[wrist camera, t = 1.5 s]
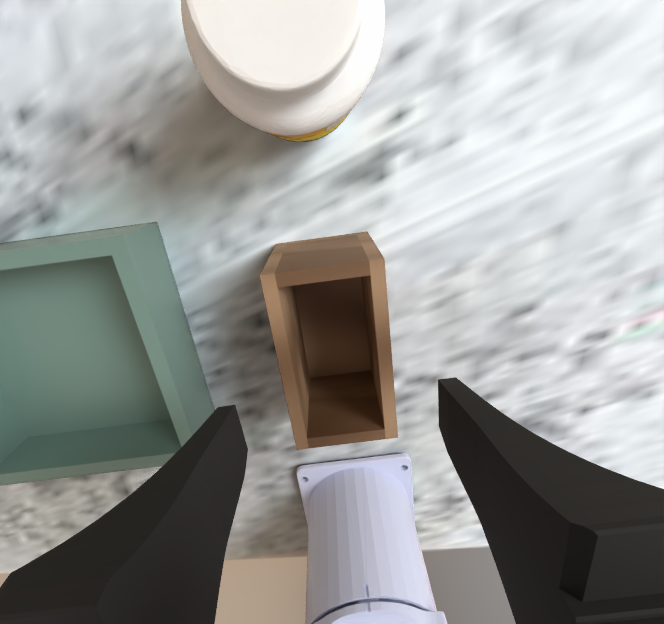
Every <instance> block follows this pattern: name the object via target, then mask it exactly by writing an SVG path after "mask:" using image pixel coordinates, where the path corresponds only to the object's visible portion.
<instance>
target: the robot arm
mask: <svg viewBox="0 0 664 624" xmlns="http://www.w3.org/2000/svg"><path fill="white" fill-rule="evenodd" d="M438 398H439V428H440V431H441V434H442V437H443V440H444V443H445V446H446V449H447V452H448V454H449V456H450V458H451V461H452V463H453V465H454V467H455V469H456V471H457V473H458V475H459V477H460V479H461V482H462V484H463V486H464V488H465V490H466V492H467V494H468V496H469V498H470V500H471V502H472V505H473V507H474V509H475V511H476V513H477V515H478V518H479V520H480V522H481V525H482V527H483V530H484V533H485V536H486V538H487V541H488V544H489V546H490V549H491V552H492V555H493V557H494V560H495V563H496V566H497V569H498V571H499V575H500V577H501V580H502V583H503V586H504V589H505V592H506V595H507V598H508V601H509V604H510V607H511V610H512V613H513V616H514V619H515V622H516V624H664V489H661V488H658V487H655V486H652V485H649V484H646V483H643V482H640V481H637V480H634V479H631V478H629V477H626V476H624V475H621V474H618V473H616V472H613V471H611V470H608V469H606V468H603V467H601V466H598V465H596V464H594V463H591V462H589V461H587V460H585V459H583V458H580V457H578V456H576V455H574V454H572V453H570V452H568V451H566V450H564V449H562V448H560V447H558V446H556V445H554V444H552V443H550V442H548V441H547V440H545V439H543V438H541V437H539V436H538V435H536V434H534V433H532V432H531V431H529V430H527V429H526V428H524V427H523V426H521V425H519V424H518V423H516V422H515V421H513V420H512V419H510V418H509V417H507V416H506V415H504V414H503V413H501V412H500V411H499V410H497V409H496V408H494V407H493V406H492V405H490V404H489V403H488V402H486V401H485V400H484V399H482V398H481V397H480V396H479V395H477V394H476V393H475V392H473V391H472V390H471V389H470V388H468V387H467V386H466V385H465V384H463V383H462V382H461V381H460V380H458V379H457V378H448V379H440V380H438ZM247 452H248V448H247V445H246V441H245V438H244V434H243V431H242V427H241V424H240V420H239V417H238V413H237V410H236V406H235V405H231V406H223V407H218V408H217V409H216V410H215V411H214V412H213V413H212V414H211V415H210V416H209V418H208V419H207V420H206V421H205V422H204V423H203V424H202V425H201V427H200V428H199V429H198V430H197V431H196V432H195V433H194V434H193V435H192V436H191V438H190V439H189V440H188V441H187V442H186V443H185V444H184V445H183V446H182V447H181V448H180V449H179V450H178V451H177V452H176V453H175V454H174V455H173V456H172V457H171V458H170V459H169V460H168V461H167V462H166V463H165V464H164V465H163V466H162V467H161V468H160V469H159V470H158V471H157V472H156V473H155V474H154V475H153V476H152V477H151V478H150V479H148V480H147V481H146V482H145V483H144V484H143V485H141V486H140V487H139V488H138V489H137V490H136V491H134V492H133V493H132V494H131V495H130V496H128V497H127V498H126V499H124V500H123V501H122V502H120V503H119V504H118V505H117V506H115V507H114V508H113V509H111V510H110V511H109V512H107V513H106V514H105V515H103V516H102V517H101V518H99V519H98V520H96V521H95V522H94V523H92V524H91V525H89V526H88V527H86V528H85V529H83V530H82V531H80V532H79V533H77V534H76V535H74V536H73V537H71V538H70V539H68V540H66V541H65V542H63V543H62V544H60V545H58V546H57V547H55V548H54V549H52V550H50V551H48V552H47V553H45V554H43V555H42V556H40V557H38V558H36V559H35V560H33V561H31V562H30V563H28V564H26V565H24V566H23V567H21V568H19V569H17V570H16V571H14V572H12V573H11V574H10V575H9V576H8V578H7V579H6V580H5V582H4V583H3V584H2V586H1V587H0V624H214V622H215V615H216V608H217V600H218V594H219V587H220V581H221V575H222V568H223V562H224V556H225V551H226V547H227V542H228V538H229V534H230V530H231V527H232V523H233V519H234V515H235V511H236V507H237V504H238V500H239V496H240V492H241V488H242V484H243V480H244V475H245V468H246V460H247ZM403 465H406V466H404V467H402V466H403ZM303 477H307V478H303ZM297 479H298V484H299V488H300V493H301V497H302V502H303V506H304V511H305V515H306V520H307V524H308V559H307V590H306V621H305V624H447V621H446V618H445V614H444V612H442V611H438V612H437V610H436V606H435V602H434V598H433V594H432V590H431V586H430V583H429V579H428V575H427V571H426V567H425V563H424V559H423V555H422V551H421V547H420V543H419V539H418V535H417V532H416V528H415V518H414V501H413V485H412V469H411V459H410V456H409V455H408V454H406V453H401V454H393V455H385V456H376V457H368V458H360V459H351V460H343V461H335V462H326V463H318V464H310V465H302V466H300V467H298V468H297Z"/></svg>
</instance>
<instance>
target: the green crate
mask: <svg viewBox="0 0 664 624" xmlns="http://www.w3.org/2000/svg"><path fill="white" fill-rule="evenodd" d="M214 411H215V410H214V406H213V403H212V400H211V397H210V393H209V390H208V387H207V384H206V380H205V377H204V374H203V370H202V367H201V364H200V361H199V357H198V354H197V351H196V348H195V344H194V341H193V338H192V334H191V331H190V328H189V325H188V321H187V318H186V315H185V312H184V308H183V305H182V302H181V298H180V295H179V292H178V289H177V285H176V282H175V279H174V276H173V272H172V269H171V266H170V262H169V259H168V256H167V253H166V249H165V246H164V243H163V240H162V236H161V233H160V230H159V226H158V223H157V222H152V223H145V224H137V225H130V226H123V227H115V228H108V229H101V230H94V231H86V232H79V233H72V234H64V235H57V236H50V237H42V238H35V239H28V240H20V241H13V242H6V243H0V485H8V484H17V483H25V482H33V481H41V480H50V479H58V478H66V477H74V476H83V475H91V474H99V473H107V472H116V471H124V470H132V469H140V468H149V467H157V466H163V465H164V464H165V463H166V462H167V461H168V460H169V459H170V458H171V457H172V456H173V455H174V454H175V453H176V452H177V451H178V450H179V449H180V448H181V447H182V446H183V445H184V444H185V443H186V442H187V441H188V440H189V439H190V438H191V436H192V435H193V434H194V433H195V432H196V431H197V430H198V429H199V428H200V427H201V425H202V424H203V423H204V422H205V421H206V420H207V419H208V418H209V416H210V415H211V414H212V413H213V412H214Z"/></svg>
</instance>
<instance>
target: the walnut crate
mask: <svg viewBox="0 0 664 624" xmlns="http://www.w3.org/2000/svg"><path fill="white" fill-rule="evenodd" d="M260 279H261V284H262V289H263V293H264V298H265V303H266V307H267V312H268V317H269V322H270V326H271V331H272V336H273V340H274V345H275V350H276V354H277V359H278V364H279V369H280V373H281V378H282V383H283V387H284V392H285V397H286V401H287V406H288V411H289V416H290V420H291V425H292V430H293V434H294V439H295V444H296V449H297V450H298V449H307V448H315V447H323V446H331V445H340V444H348V443H356V442H365V441H373V440H381V439H390V438H398V431H397V418H396V405H395V392H394V379H393V366H392V353H391V340H390V327H389V313H388V300H387V287H386V274H385V261H384V258H383V256H382V254H381V253H380V251H379V250H378V248H377V246H376V245H375V243H374V242H373V240H372V238H371V237H370V235H369V234H368V232H361V233H353V234H346V235H339V236H331V237H324V238H316V239H309V240H301V241H294V242H287V243H279V244H276V245H275V247H274V249H273V251H272V253H271V255H270V257H269V259H268V261H267V262H266V264H265V266H264V268H263V270H262V272H261V274H260Z"/></svg>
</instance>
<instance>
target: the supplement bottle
mask: <svg viewBox="0 0 664 624" xmlns="http://www.w3.org/2000/svg"><path fill="white" fill-rule="evenodd" d="M181 11H182V21H183V28H184V33H185V38H186V41H187V45H188V48H189V51H190V54H191V57H192V59H193V62H194V64H195V66H196V68H197V70H198V72H199V74H200V76H201V78H202V79H203V81H204V83H205V84H206V86H207V87H208V88H209V90H210V91H211V92H212V94H213V95H214V96H215V97H216V99H217V100H218V101H219V102H220V103H221V104H222V105H223V106H224V107H225V108H226V109H227V110H229V111H230V112H231V113H232V114H233V115H235V116H236V117H237V118H239V119H240V120H242V121H243V122H245V123H247V124H248V125H250V126H252V127H255V128H257V129H259V130H262V131H264V132H266V133H268V134H271V135H274V136H276V137H279V138H281V139H285V140H288V141H295V142H307V141H313V140H317V139H319V138H322V137H324V136H326V135H327V134H329V133H331V132H332V131H333V130H335V129H336V128H337V127H338V126H339V125H340V124H341V123H342V122H343V121H344V119H345V118H346V117H347V116H348V114H349V113H350V111H351V110H352V109H353V107H354V106H355V104H356V103H357V102H358V100H359V99H360V98H361V96H362V95H363V93H364V91H365V90H366V88H367V87H368V85H369V83H370V81H371V79H372V76H373V74H374V72H375V69H376V66H377V63H378V60H379V57H380V53H381V49H382V43H383V37H384V28H385V7H384V0H181Z"/></svg>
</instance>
